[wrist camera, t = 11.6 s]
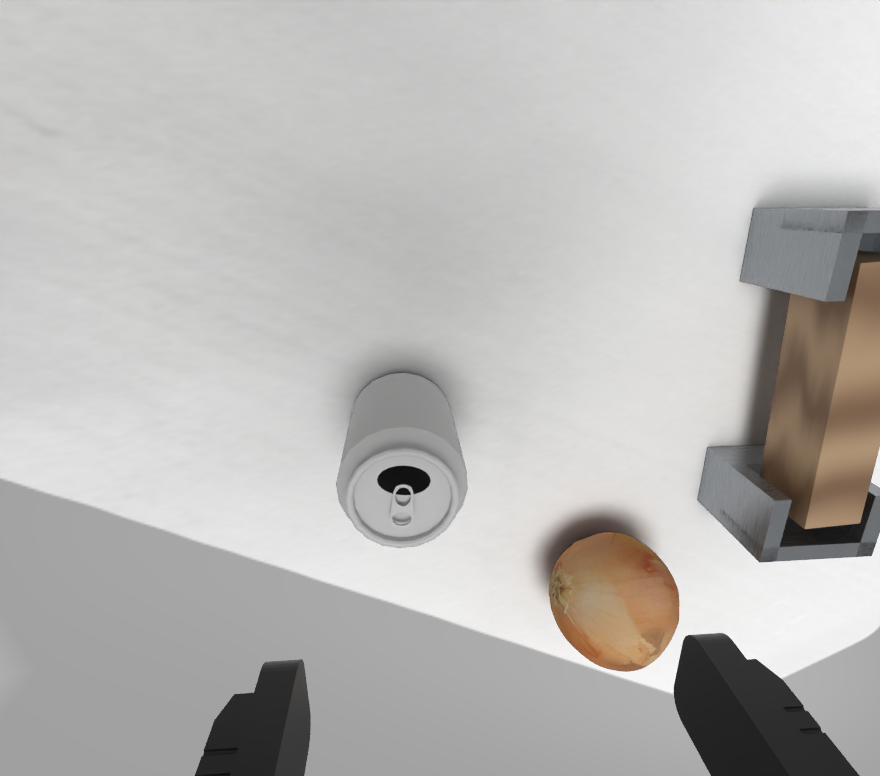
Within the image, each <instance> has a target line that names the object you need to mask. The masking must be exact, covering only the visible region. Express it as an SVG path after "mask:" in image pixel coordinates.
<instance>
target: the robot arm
mask: <svg viewBox="0 0 880 776" xmlns="http://www.w3.org/2000/svg"><path fill="white" fill-rule="evenodd" d="M674 698H675V704H676V708H677V711H678V714H679V716H680V719H681V721H682V723H683V725H684V727H685V728H686V730H687V732H688V734H689V736H690V738H691V739H692V741H693V743H694V745H695V747H696V749H697V751H698V752H699V754H700V756H701V758H702V760H703V762H704V763H705V765H706V767H707V769H708V771H709V773H710V774H711V776H859V775H858V773H857V772H856V771H855V770H854V768H853V767H852V766H851V765H850V763H849V762H848V761H847V760H846V758H845V757H844V756H843V755H842V753H841V752H840V751H839V750H838V749H837V747H836V746H835V745H834V743H833V742H832V741H831V740H830V738H829V737H828V736H827V735H826V733H822V731H821V728H820V726H819V725H818V723H817V722H816V721H815V720H814V718H813V717H812V716H811V715H810V713H809V712H808V711H805V710H804V708H803V705H802V703H801V702H800V701H799V700H798V699H797V697H796V696H795V695H794V693H793V692H792V691H791V690H790V689H789V687H788V686H787V685H786V683H785V682H784V681H783V680H782V679H781V678H779V677H778V676H777V675H776V674H774V673H773V672H772V671H770V670H769V669H768V668H767V667H765V666H764V665H763V664H762V663H760V662H759V661H758V660H756V659H752V660H747V659H746V658H745V657H744V655H743V654H742V653H741V651H740V650H739V649H738V648H737V646H736V645H735V644H734V642H733V641H732V640H731V639H730V638H729V637H728V636H727V635H725V634H723V633H715V634H700V635H688V636H686V637H685V638H684V641H683V645H682V650H681V655H680V660H679V665H678V669H677V674H676V679H675V684H674ZM309 740H310V707H309V700H308V691H307V684H306V677H305V669H304V662H303V660H288V661H272V662H265V663H264V664H263V666H262V668H261V671H260V675H259V678H258V682H257V685H256V688H255V692H254V693H246V694H235V695H234V696H233V697H232V698H231V699H230V701H229V702H228V704H227V705H226V706H225V707H224V709H223V710H222V711H221V713H220V714H219V715H218V717H217V718H216V719H215V721H214V723H213V726H212V729H211V732H210V735H209V737H208V740H207V743H206V746H205V749H204V755H203V756H202V757H201V760H200V763H199V766H198V769H197V771H196V774H195V776H304V773H305V767H306V761H307V755H308V748H309Z"/></svg>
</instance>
